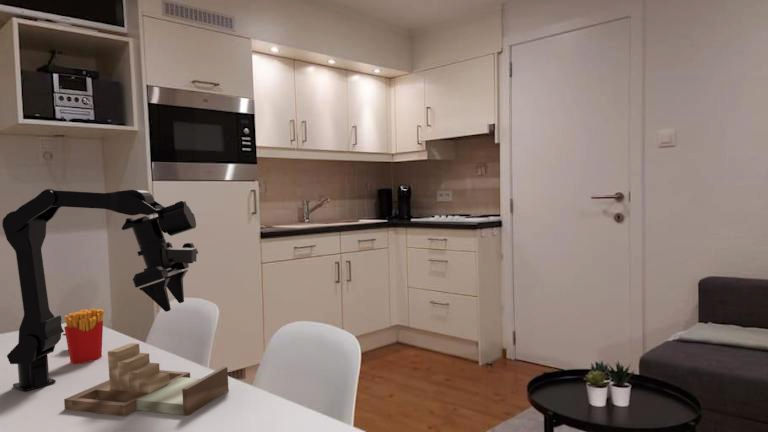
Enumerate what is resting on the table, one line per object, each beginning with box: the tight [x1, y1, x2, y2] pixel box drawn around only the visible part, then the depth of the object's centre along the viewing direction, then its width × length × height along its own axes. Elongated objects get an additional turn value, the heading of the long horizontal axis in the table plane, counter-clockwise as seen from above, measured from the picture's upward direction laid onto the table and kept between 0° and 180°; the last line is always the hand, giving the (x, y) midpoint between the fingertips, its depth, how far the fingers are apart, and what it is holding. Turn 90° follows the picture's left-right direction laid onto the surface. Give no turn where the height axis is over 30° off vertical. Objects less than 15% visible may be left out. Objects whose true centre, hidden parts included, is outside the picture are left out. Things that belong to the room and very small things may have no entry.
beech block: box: [107, 342, 170, 393], centre depth 111 cm, size 10×6×8 cm, turn 72°
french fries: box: [64, 307, 105, 365], centre depth 139 cm, size 9×4×13 cm, turn 141°
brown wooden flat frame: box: [63, 366, 230, 417], centre depth 110 cm, size 27×19×5 cm
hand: (175, 306), depth 122 cm, fingers open, 9 cm apart
